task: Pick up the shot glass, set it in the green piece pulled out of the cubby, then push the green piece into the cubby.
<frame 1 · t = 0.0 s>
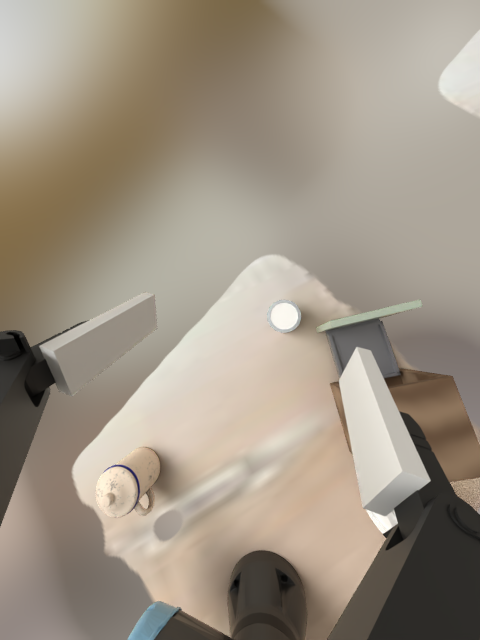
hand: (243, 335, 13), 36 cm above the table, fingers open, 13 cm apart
shot glass: (282, 320, 49), on the table
green piece: (371, 348, 39), point 7 cm above the table, slide at 11.0 cm
spread jar: (393, 499, 41), on the table
teacup with lid: (148, 470, 49), on the table
cubby: (375, 409, 43), on the table
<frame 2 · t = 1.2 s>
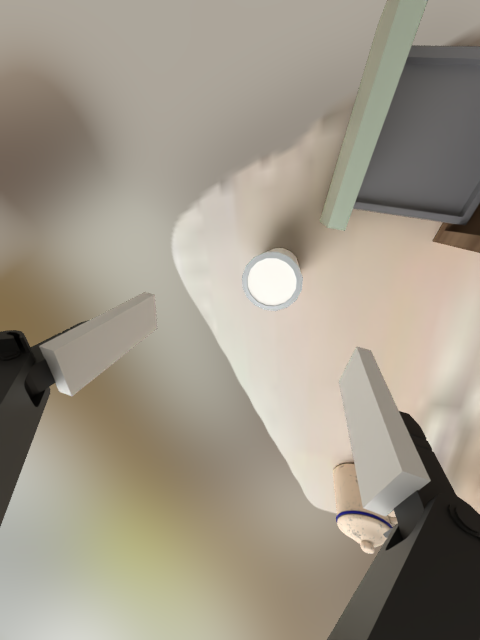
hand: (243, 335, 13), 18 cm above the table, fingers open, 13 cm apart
shot glass: (278, 268, 29), on the table
green piece: (451, 127, 15), point 7 cm above the table, slide at 11.0 cm
teacup with lid: (362, 474, 44), on the table
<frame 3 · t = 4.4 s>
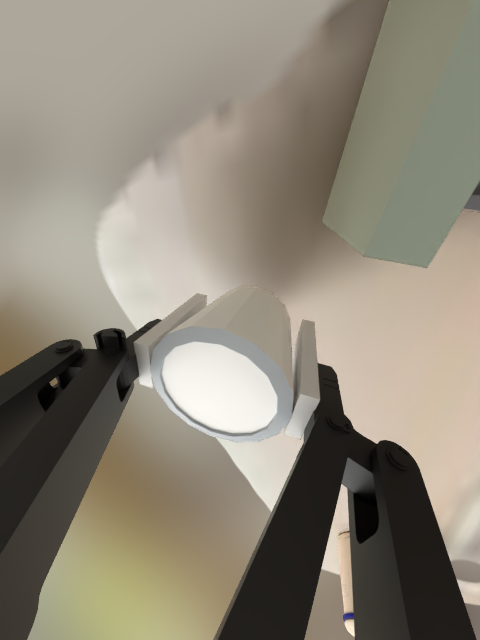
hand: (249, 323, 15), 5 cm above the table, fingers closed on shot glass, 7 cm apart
shot glass: (251, 321, 15), point 4 cm above the table, touching gripper
teacup with lid: (374, 544, 34), on the table
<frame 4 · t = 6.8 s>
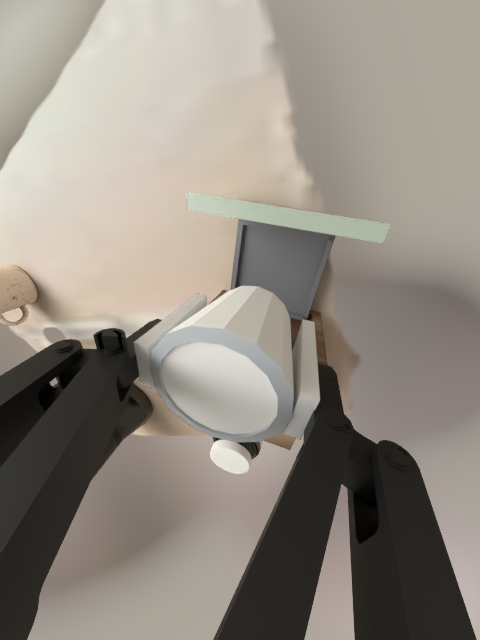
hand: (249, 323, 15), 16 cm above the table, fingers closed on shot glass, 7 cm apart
shot glass: (251, 321, 15), point 16 cm above the table, touching gripper
green piece: (271, 275, 23), point 7 cm above the table, slide at 11.0 cm
spread jar: (237, 400, 44), on the table
teacup with lid: (27, 289, 46), on the table
cubby: (261, 338, 35), on the table
when the fingers open (3 cm above the table, at t = 9.5 s): shot glass stays where it is, resting on green piece.
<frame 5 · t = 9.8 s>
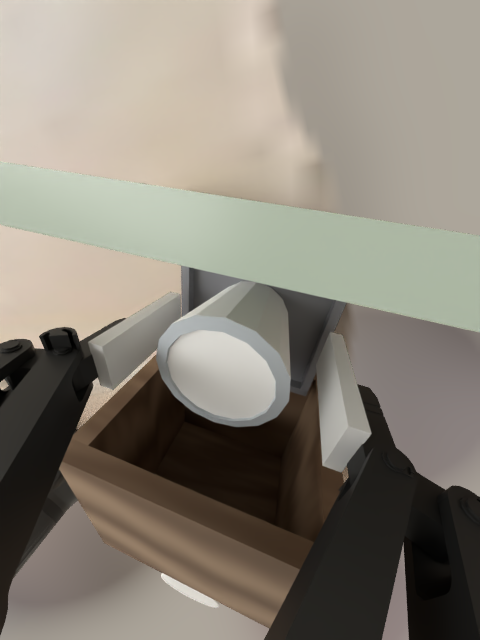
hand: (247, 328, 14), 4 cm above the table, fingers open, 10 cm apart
shot glass: (251, 315, 16), point 2 cm above the table, touching green piece
green piece: (236, 340, 11), point 7 cm above the table, slide at 11.1 cm, touching shot glass
spread jar: (213, 467, 32), on the table
cubby: (239, 401, 23), on the table
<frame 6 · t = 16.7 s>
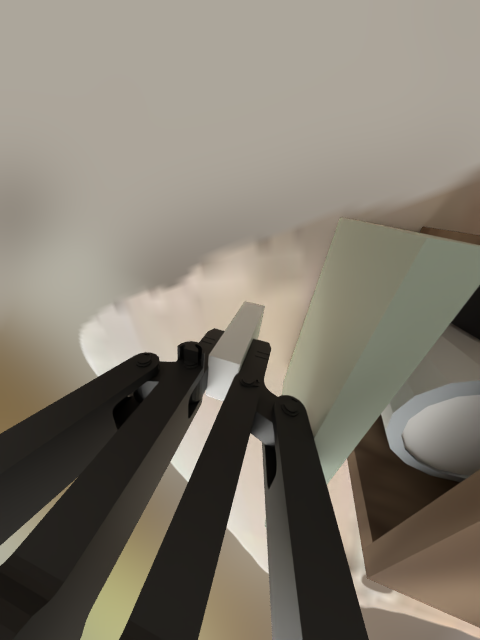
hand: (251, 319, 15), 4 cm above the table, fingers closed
shot glass: (409, 347, 15), point 2 cm above the table, touching green piece
green piece: (430, 394, 11), point 7 cm above the table, slide at 3.7 cm, touching hand, shot glass
cubby: (466, 349, 16), on the table
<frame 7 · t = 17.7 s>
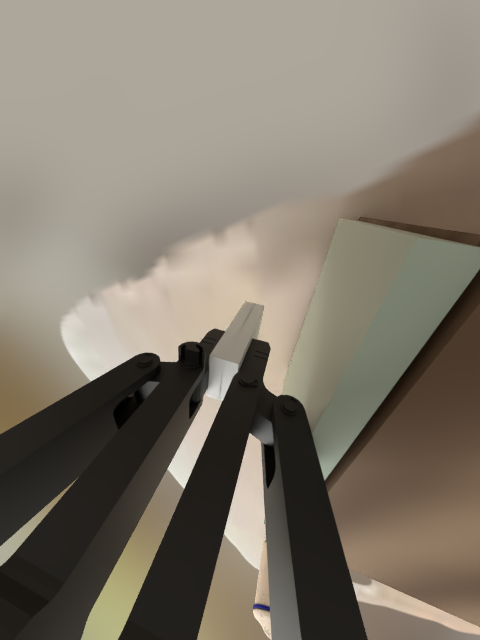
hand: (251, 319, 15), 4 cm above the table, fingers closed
green piece: (429, 393, 11), point 7 cm above the table, slide at -0.1 cm, touching hand, shot glass
teacup with lid: (290, 551, 42), on the table
cubby: (412, 336, 16), on the table
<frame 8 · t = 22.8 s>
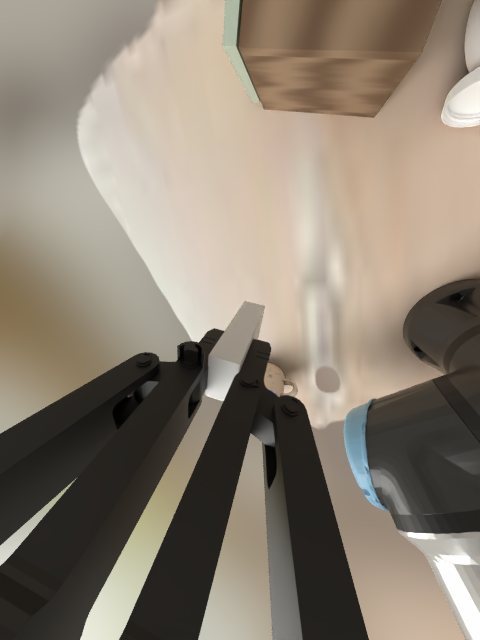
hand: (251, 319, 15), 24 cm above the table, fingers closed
teacup with lid: (272, 374, 49), on the table
cubby: (337, 22, 23), on the table
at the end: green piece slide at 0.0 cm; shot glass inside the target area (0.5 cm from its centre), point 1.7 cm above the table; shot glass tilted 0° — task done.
